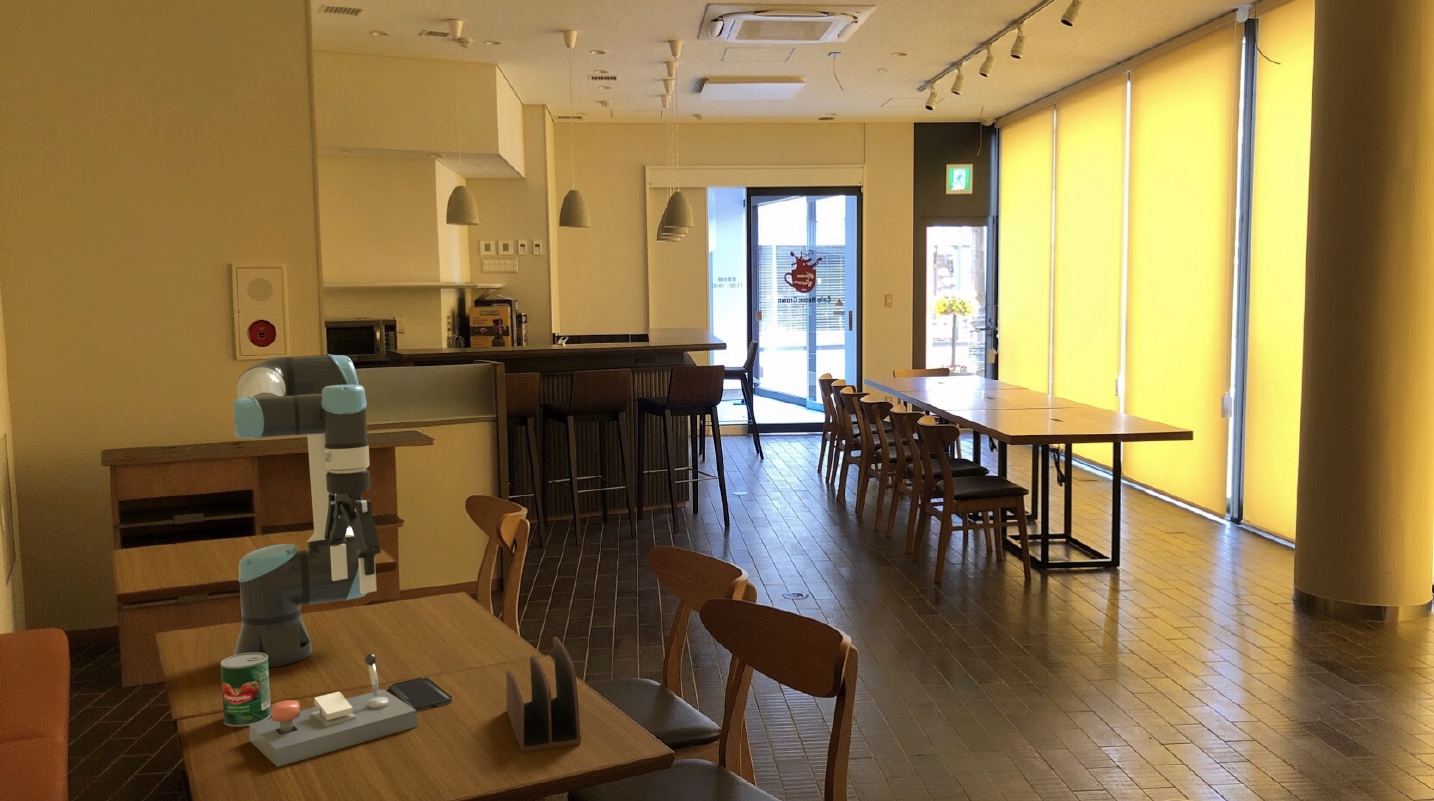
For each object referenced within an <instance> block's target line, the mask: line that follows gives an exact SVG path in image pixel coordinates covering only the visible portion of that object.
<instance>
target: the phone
mask: <svg viewBox="0 0 1434 801" xmlns="http://www.w3.org/2000/svg"><path fill="white" fill-rule="evenodd" d="M388 692H389V693H390V694H392V695H393V696H395V697H396V698H398V699H400V700H401V701H403V702H404V703H406V704H407V705H409V706H410V707H412V708H414V709H415V710H416V712H421V711H425V710H429V708H430V709H432V708H431V707H434V706H438V707H441V706H440V705H442V706H445V705H446V706H447V705H450V704H452V703H453V696H451V694H449V693H448V692H446V691H445V690H443V688H441V687H440V686H438V685H437V684H436V682H434V681H432V680H431V679H430V678H428V677H425V676H424V677H423V676H422V677H417V678H413V679H409V680H404V681H399V682H396V683H391V684H389V685H388ZM434 708H435V707H434Z"/></svg>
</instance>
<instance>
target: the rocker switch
mask: <svg viewBox="0 0 1434 801" xmlns="http://www.w3.org/2000/svg"><path fill="white" fill-rule="evenodd" d="M346 699H347V698H345V697H344V695H343V694H342V693H341V692H340V691H336V692H335V691H334V692H332V693H328V694H324V695H323V694H322V695H319V696H316V697H314V698H313V704H314V707H317V708H318V709H319V711H320V714H322V715H323V716H324V717H325V718H326V720H331V719H334V718H338V717H342V716H346V715H349V714H352V712H353V707H352V706H351V705H350V704H349V702H348V701H347V700H346Z"/></svg>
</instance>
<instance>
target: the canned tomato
mask: <svg viewBox="0 0 1434 801" xmlns="http://www.w3.org/2000/svg"><path fill="white" fill-rule="evenodd" d="M219 664H220V676H221V689H222V690H221V692H222V708H223V710H222V711H223V713H222V714H223V725H226V726H228V727H232V728H236V727H237V728H241V727H244V728H245V727H249V724H251V723H255V722H259V721H263V720H267V719H270V717H272V715H271V692H270V677H269V676H270V672H269V668H268V655H267V654H264V653H258V652H252V653H243V654H237V655H235V654H234V655H231V656H228V657H225V658H224V659H222V660H221V661H220V663H219Z"/></svg>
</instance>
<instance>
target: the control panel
mask: <svg viewBox="0 0 1434 801" xmlns="http://www.w3.org/2000/svg"><path fill="white" fill-rule="evenodd" d="M380 693H381V694H380V695H377V696H374V695H373V691H372V692H369V693H365V694H361V695H357V696H352V697H349V698H345V699H346V700H347V701H348V702H349V704H350V705H351V706H352V707H353V712H352V714H349V715H346V716H342V717H338V718H334V719H331V720H326V718H325V717H324V716H323V715H322V714H320V711H319V709H318V708H317V707H316V706H314V707H310V708H307V709H306V708H305V709H303V710H300V716H299V717H297V718H295V719H293V732H289V733H285V734H282V735H280V722H277V721H273V720H272V717H271V718H268V719H267V720H263V721H259V722H255V723H251V724H249V726H248V731H249V732H248V733H249V734H248V735H249V742H250V743H251V744H252V745H253V746H254V747H256V749H257V750H259V751H260V752H261V753H262V754H263V756H265V757H266V758H267V759H268V760H269V761H270V762H271V763H272V764H274V765H275V767H276V768H279V767H283V766H286V765H289V764H292V763H296V762H301V761H303V760H307V759H310V758H314V757H317V756H320V755H323V754H324V755H325V754H326V753H327V754H328V753H331V752H335V751H339V750H341V749H345V748H348V747H351V746H355V745H359V744H362V743H365V742H369V741H374V740H375V739H376V740H377V739H380V738H383V737H386V736H391V735H393V734H396V733H397V734H398V733H401V732H403V731H407V730H411V729H414V728H418V716H417V715H418V714H417V713H418V712H417V711H416V710H415V709H414V708H412V707H410V706H409V705H407V704H406V703H404V702H403V701H401V700H400V699H398V698H397V697H396V696H395V695H393V694H392V693H391V692H390V691H387V690H386V689H380Z"/></svg>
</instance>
